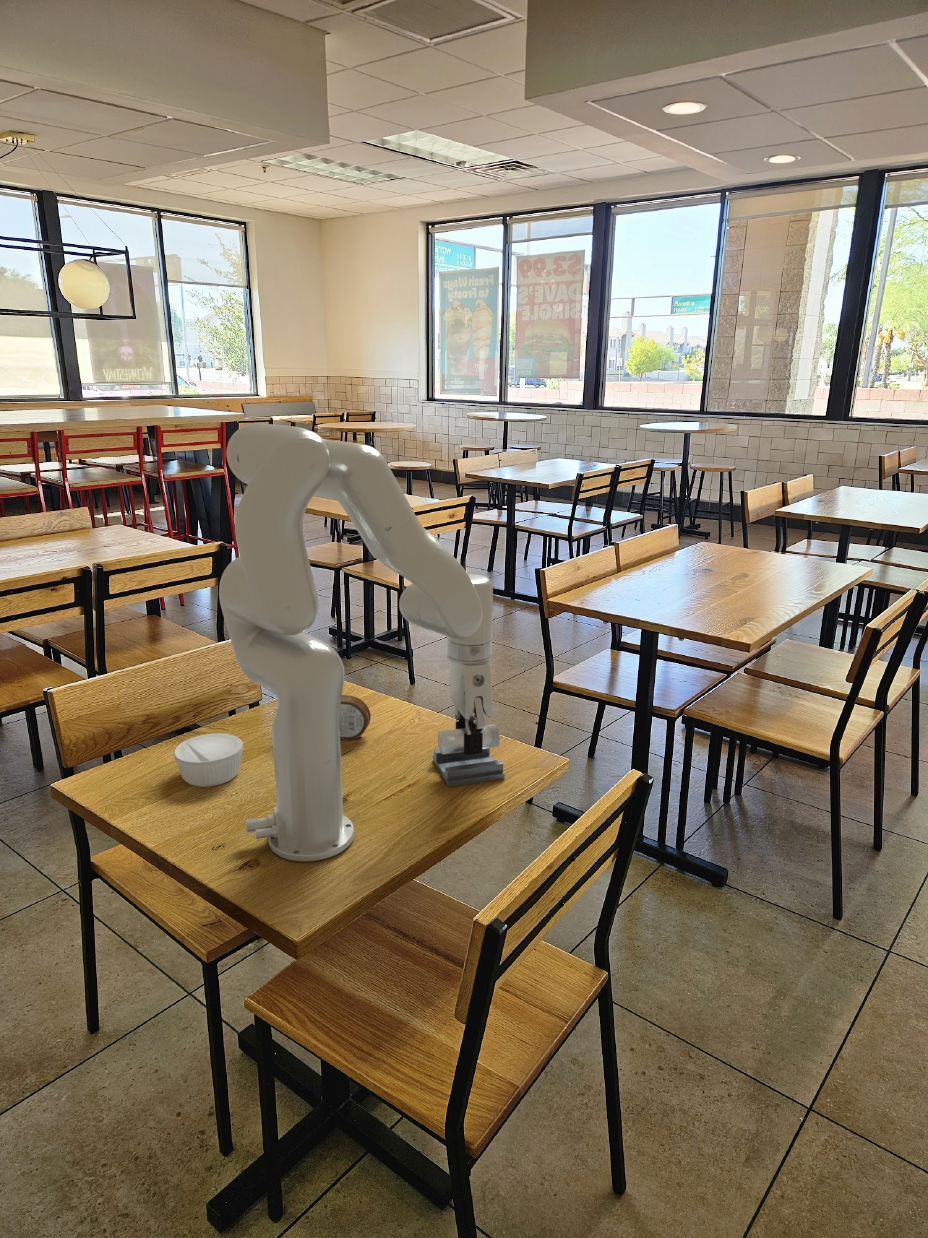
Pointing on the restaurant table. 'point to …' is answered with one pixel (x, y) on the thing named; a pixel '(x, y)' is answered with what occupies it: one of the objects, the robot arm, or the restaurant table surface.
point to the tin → (353, 717)
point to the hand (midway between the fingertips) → (468, 746)
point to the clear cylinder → (455, 739)
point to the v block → (468, 767)
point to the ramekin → (209, 759)
